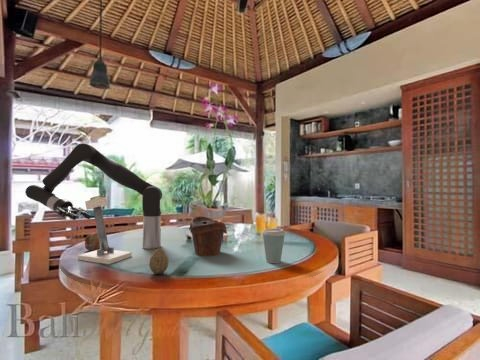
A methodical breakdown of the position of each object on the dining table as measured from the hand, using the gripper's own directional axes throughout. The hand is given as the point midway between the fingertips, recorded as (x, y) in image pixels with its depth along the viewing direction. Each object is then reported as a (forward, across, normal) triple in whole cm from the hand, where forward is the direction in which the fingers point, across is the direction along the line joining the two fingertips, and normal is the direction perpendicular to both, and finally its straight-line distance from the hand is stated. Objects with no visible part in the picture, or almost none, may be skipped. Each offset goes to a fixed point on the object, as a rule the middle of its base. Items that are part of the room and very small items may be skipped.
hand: (83, 217), depth 136 cm
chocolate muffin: (+58, +25, -4) cm, 63 cm away
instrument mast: (+19, 0, +10) cm, 22 cm away
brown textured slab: (+2, +13, +18) cm, 22 cm away
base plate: (+20, 0, +12) cm, 23 cm away
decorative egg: (+54, -12, +1) cm, 55 cm away
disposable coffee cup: (+90, +21, -15) cm, 94 cm away
